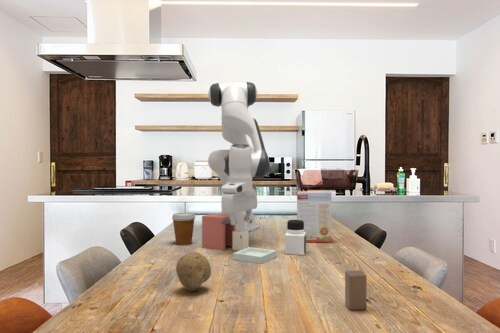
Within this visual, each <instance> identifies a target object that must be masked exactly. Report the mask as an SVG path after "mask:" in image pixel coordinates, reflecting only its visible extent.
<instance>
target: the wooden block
mask: <svg viewBox="0 0 500 333" xmlns="http://www.w3.org/2000/svg"><path fill="white" fill-rule="evenodd" d="M344 288H345V289H344V290H345V291H344V293H345V294H344V300H345V301H344V304H345V305H346V307H347V308H348V310H350V311H359V310H360V311H365V310H367V275H366V274H365V273H364V272H363V271H361V270H346V271H345V273H344Z"/></svg>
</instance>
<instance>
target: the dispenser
mask: <svg viewBox="0 0 500 333" xmlns="http://www.w3.org/2000/svg"><path fill="white" fill-rule="evenodd" d="M235 219H236V218H235ZM233 231H235V225H231V220H230V218H229V215H226V214H221V213H211V214H210V213H209V214H206V215H202V216H201V239H202V240H201V247H202V249H210V250H211V249H212V250H219V251H225V250H226V247H232V248H233Z"/></svg>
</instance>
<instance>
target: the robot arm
mask: <svg viewBox="0 0 500 333" xmlns="http://www.w3.org/2000/svg"><path fill="white" fill-rule="evenodd" d="M207 94H208V100H209V102H210V104H211V105H212V106H214V107H219V108H220V107H221V136H222V138H223V139H224V140H225V141H226V142H228V143H231V145H230V148H229V149H218V150H214V151H212V152H210V153H209V156H208V159H207V163H208V166H209V168H210V170H212V172H214V173H215V174H216V176H218V178H219V180H220V182H221V188H220V192H221V193H222V194H221V202H220V203H221V204H220V205H221V206H220V207H221V211H220V214H226V215H229V218H230V220H231V225H235V231H236V230H242V231H249V232H252V231H255V230H257V229H258V228H260V227H261V225H260V224H257V223H256V216H255V214H254V213H253V212H252V211H253V210H256V209H257V208H258V196H257V195H258V194H257V192H256V188H255V187H254V186H253V178H257V179H263V178H265V177H266V176H267V175H268V174H269V173H270V170H271V163H270V158H269V155H268V153H267V151H266V148H265V144H264V140H263V137H262V133H261V130H260V127H259V123H258V121H257V119H256V118H254V117H253V116H252V115H251V114H250V111H249V107H250V106H252V105H254V104H255V103H256V102H257V98H258V89H257V88H256V84H254V82H250V81H244V82H243V81H232V82H220V83H219V82H217V83H212V84H211V85H210V86H209V90H208V93H207ZM247 136H248V137H249V138H250V140H251V144H252V145H250V143H249V141H248V138H247ZM235 218H236V219H235Z"/></svg>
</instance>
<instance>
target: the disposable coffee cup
mask: <svg viewBox="0 0 500 333" xmlns="http://www.w3.org/2000/svg"><path fill="white" fill-rule="evenodd" d="M171 219H172V223H173V229H174V240H175V244H176V245H178V246H188V245H191V244H192V243H193V234H194V227H195V226H194V225H195V219H196V216H195V213H193V212H178V213H177V212H176V213H173V214H172V217H171Z"/></svg>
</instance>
